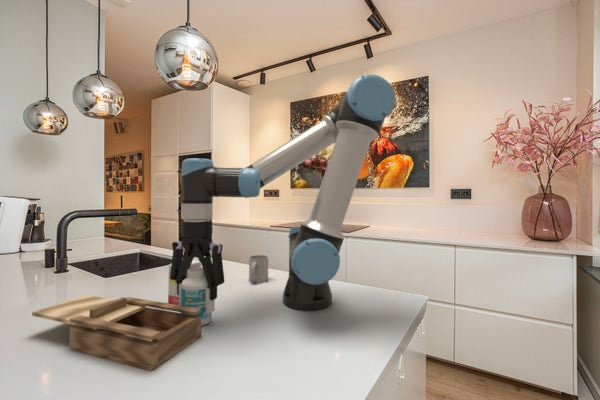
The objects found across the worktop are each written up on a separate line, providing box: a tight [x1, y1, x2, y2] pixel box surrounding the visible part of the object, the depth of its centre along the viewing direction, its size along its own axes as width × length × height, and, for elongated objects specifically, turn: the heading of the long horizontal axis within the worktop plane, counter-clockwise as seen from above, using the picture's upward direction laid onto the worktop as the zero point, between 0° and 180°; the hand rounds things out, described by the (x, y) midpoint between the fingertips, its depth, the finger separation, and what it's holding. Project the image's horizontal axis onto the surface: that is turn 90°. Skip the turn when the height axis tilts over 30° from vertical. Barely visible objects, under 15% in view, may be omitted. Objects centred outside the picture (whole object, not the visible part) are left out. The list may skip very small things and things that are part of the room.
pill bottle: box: [181, 266, 213, 327], centre depth 75 cm, size 8×7×14 cm
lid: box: [31, 294, 147, 330], centre depth 69 cm, size 20×12×3 cm, turn 71°
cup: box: [248, 254, 269, 284], centre depth 111 cm, size 7×10×9 cm
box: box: [69, 296, 202, 372], centre depth 64 cm, size 22×14×6 cm, turn 71°
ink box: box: [167, 259, 202, 305], centre depth 90 cm, size 9×5×12 cm, turn 151°
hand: (196, 309), depth 75 cm, fingers closed on pill bottle, 7 cm apart
